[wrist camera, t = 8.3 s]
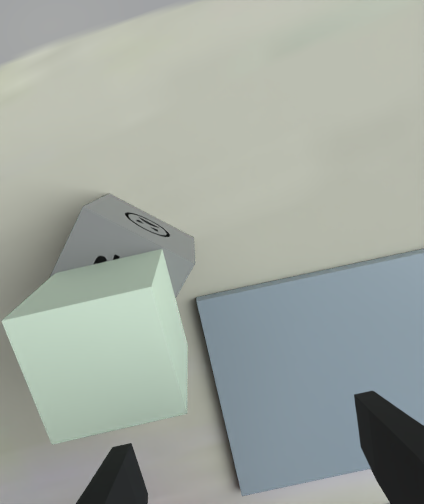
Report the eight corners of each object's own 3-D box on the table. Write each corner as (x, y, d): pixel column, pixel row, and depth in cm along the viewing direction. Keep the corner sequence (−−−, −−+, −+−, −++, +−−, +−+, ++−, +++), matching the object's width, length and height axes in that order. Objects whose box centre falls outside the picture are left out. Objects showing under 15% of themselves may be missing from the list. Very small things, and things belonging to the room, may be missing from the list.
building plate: (445, 444, 25) (451, 451, 24) (240, 488, 25) (242, 496, 24) (437, 245, 21) (444, 248, 20) (196, 297, 21) (196, 301, 20)
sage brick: (187, 344, 16) (187, 413, 12) (88, 367, 16) (51, 444, 12) (162, 248, 15) (151, 286, 11) (55, 273, 15) (1, 321, 11)
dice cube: (109, 193, 19) (83, 206, 15) (193, 237, 20) (194, 263, 15) (71, 273, 20) (34, 310, 16) (152, 312, 21) (141, 358, 16)
